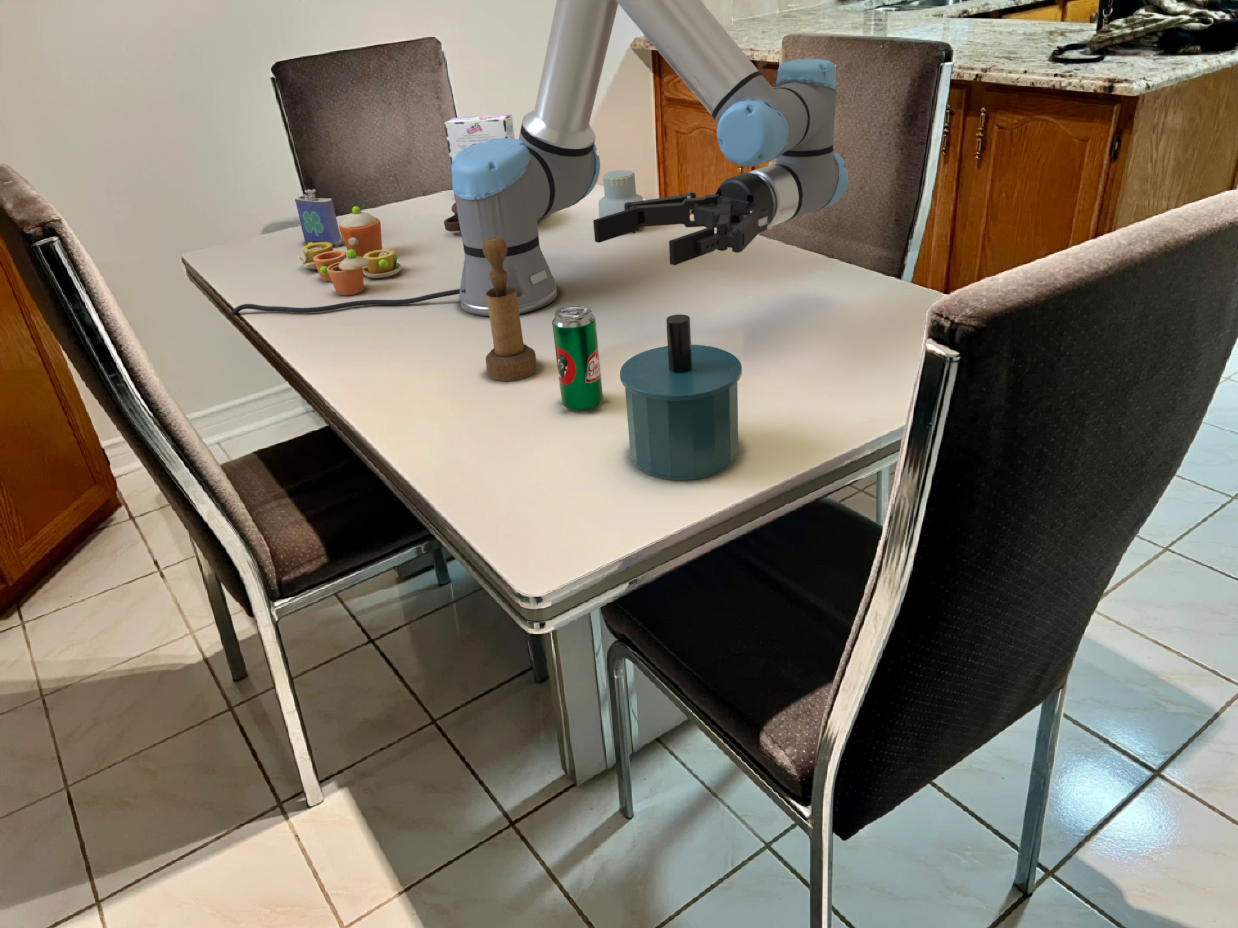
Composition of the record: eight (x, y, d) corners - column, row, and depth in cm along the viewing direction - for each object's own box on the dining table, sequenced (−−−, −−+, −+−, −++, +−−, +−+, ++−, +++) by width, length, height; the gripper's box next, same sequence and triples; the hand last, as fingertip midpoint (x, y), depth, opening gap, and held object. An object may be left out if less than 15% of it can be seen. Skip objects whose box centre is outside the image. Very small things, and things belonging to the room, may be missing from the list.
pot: (609, 455, 103) (602, 376, 98) (685, 418, 109) (682, 342, 105) (683, 493, 95) (678, 409, 91) (760, 450, 101) (760, 370, 97)
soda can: (598, 414, 112) (589, 319, 106) (557, 413, 113) (546, 319, 107) (607, 395, 116) (598, 303, 110) (568, 394, 117) (557, 303, 111)
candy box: (522, 190, 210) (512, 113, 202) (515, 197, 205) (505, 118, 197) (464, 192, 213) (452, 116, 204) (455, 199, 208) (442, 121, 199)
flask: (345, 243, 184) (332, 188, 178) (334, 248, 181) (321, 192, 176) (311, 240, 188) (298, 186, 182) (300, 244, 186) (286, 190, 180)
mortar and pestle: (498, 385, 121) (476, 249, 112) (480, 368, 126) (459, 237, 117) (545, 372, 123) (527, 238, 114) (526, 356, 129) (508, 226, 120)
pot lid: (596, 381, 99) (590, 322, 95) (682, 344, 106) (680, 287, 102) (678, 418, 90) (675, 354, 87) (767, 375, 97) (767, 314, 94)
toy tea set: (296, 264, 174) (282, 213, 169) (377, 246, 180) (366, 196, 175) (331, 303, 154) (317, 245, 149) (421, 281, 160) (411, 225, 155)
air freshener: (644, 233, 174) (641, 178, 169) (600, 236, 175) (595, 182, 170) (644, 217, 184) (640, 165, 179) (601, 220, 184) (597, 168, 179)
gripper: (830, 247, 116) (708, 295, 104) (688, 214, 133) (570, 252, 121) (832, 186, 112) (706, 229, 101) (687, 159, 129) (565, 193, 117)
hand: (631, 241), depth 111 cm, fingers open, 13 cm apart
